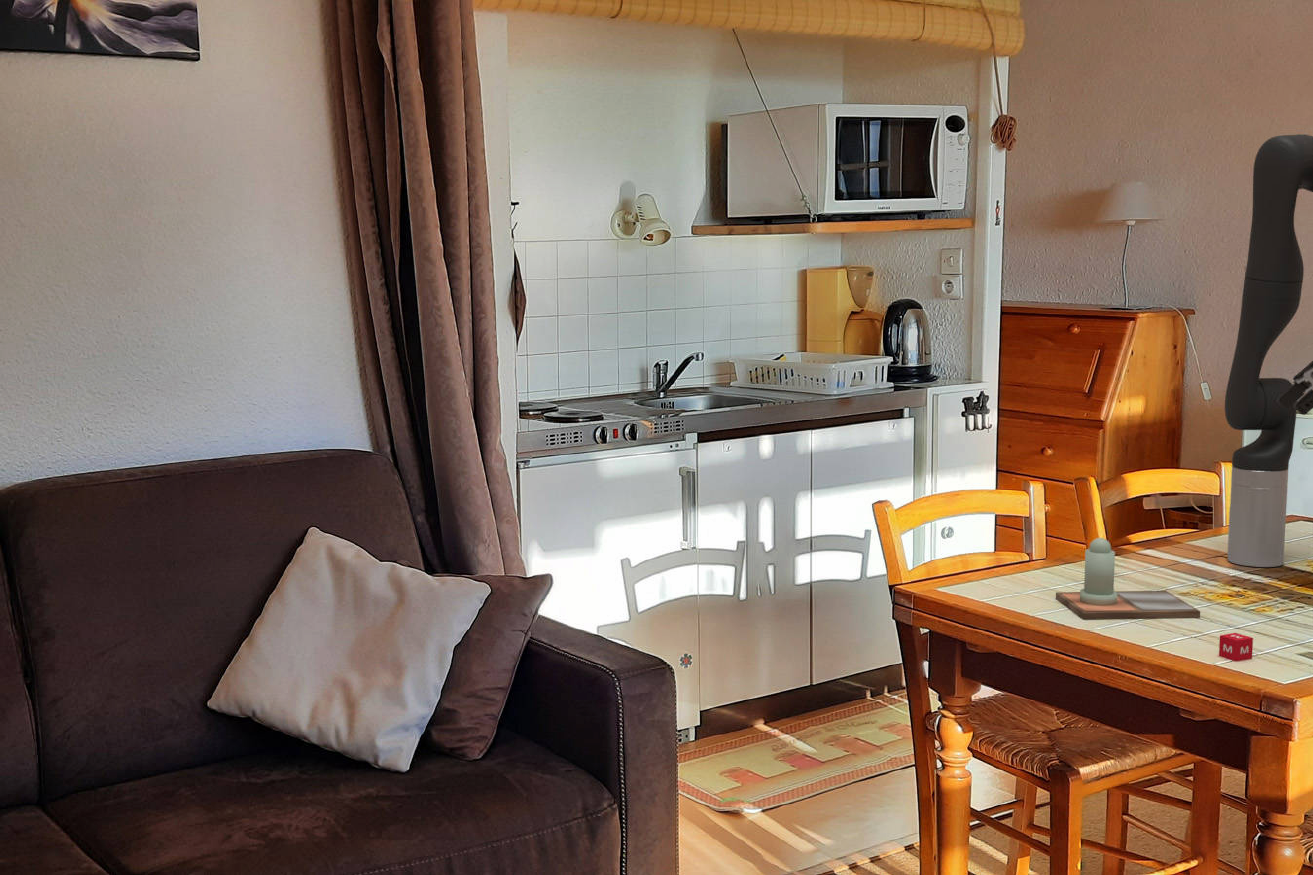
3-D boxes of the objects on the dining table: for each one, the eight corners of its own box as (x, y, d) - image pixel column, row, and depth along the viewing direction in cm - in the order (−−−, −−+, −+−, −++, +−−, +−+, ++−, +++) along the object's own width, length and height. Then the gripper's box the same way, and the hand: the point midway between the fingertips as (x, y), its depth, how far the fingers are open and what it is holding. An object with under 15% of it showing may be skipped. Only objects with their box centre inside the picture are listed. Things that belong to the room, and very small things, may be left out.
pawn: (1074, 597, 216) (1076, 534, 215) (1109, 596, 216) (1111, 534, 215) (1087, 606, 210) (1089, 542, 209) (1122, 605, 211) (1125, 541, 209)
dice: (1218, 656, 188) (1219, 635, 187) (1234, 653, 189) (1235, 632, 188) (1236, 661, 185) (1237, 640, 184) (1252, 659, 186) (1253, 637, 186)
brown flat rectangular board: (1055, 598, 220) (1056, 591, 219) (1165, 596, 220) (1165, 590, 220) (1083, 619, 207) (1083, 612, 207) (1200, 617, 207) (1200, 610, 207)
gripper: (1337, 317, 220) (1259, 387, 224) (1370, 321, 206) (1286, 395, 210) (1370, 349, 220) (1291, 419, 223) (1405, 356, 206) (1321, 430, 209)
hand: (1289, 407), depth 216 cm, fingers open, 8 cm apart
